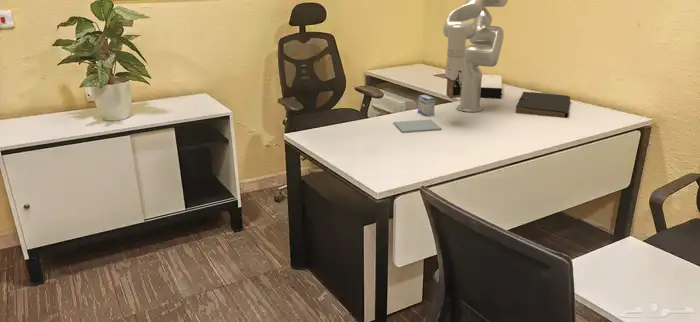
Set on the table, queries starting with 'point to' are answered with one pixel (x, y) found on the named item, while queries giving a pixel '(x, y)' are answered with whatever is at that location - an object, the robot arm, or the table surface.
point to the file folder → (543, 104)
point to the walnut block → (450, 88)
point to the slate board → (416, 126)
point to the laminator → (491, 86)
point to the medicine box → (426, 105)
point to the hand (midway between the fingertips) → (453, 93)
